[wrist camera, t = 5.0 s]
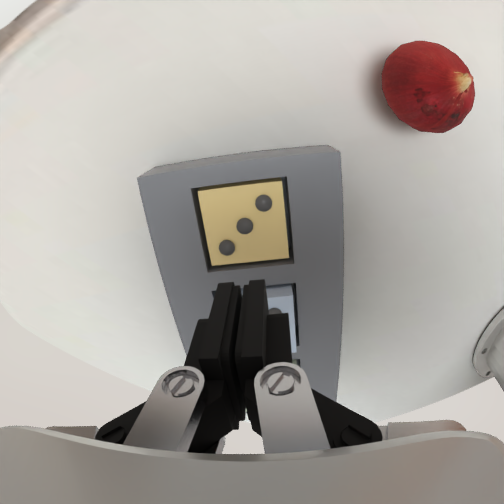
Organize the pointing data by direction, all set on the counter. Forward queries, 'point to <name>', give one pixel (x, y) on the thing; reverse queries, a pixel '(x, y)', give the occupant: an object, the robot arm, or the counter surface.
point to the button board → (273, 271)
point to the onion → (428, 86)
